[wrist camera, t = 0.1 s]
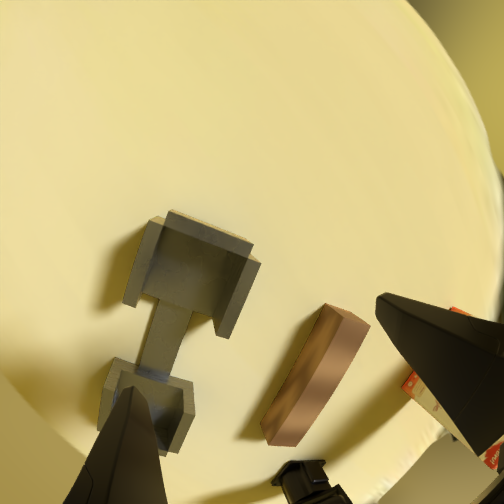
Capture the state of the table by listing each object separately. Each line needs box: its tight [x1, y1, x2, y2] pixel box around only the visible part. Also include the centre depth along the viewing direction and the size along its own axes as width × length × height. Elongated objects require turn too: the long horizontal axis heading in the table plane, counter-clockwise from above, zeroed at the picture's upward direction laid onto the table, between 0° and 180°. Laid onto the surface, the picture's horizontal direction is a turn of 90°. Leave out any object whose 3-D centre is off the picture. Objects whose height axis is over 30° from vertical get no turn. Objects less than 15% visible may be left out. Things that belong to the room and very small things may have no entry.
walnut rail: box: [260, 303, 371, 447], centre depth 26 cm, size 16×4×4 cm, turn 157°
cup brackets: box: [97, 209, 261, 457], centre depth 21 cm, size 22×8×5 cm, turn 157°
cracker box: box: [402, 307, 504, 470], centre depth 23 cm, size 14×6×21 cm, turn 147°
